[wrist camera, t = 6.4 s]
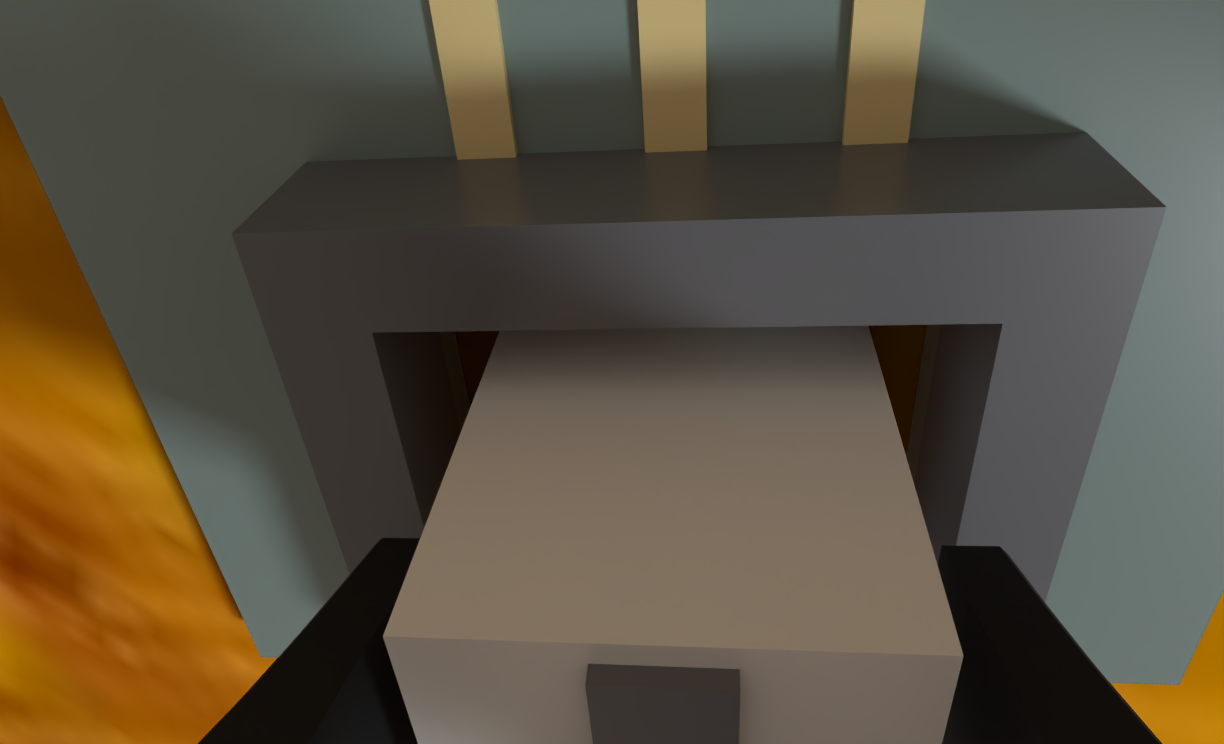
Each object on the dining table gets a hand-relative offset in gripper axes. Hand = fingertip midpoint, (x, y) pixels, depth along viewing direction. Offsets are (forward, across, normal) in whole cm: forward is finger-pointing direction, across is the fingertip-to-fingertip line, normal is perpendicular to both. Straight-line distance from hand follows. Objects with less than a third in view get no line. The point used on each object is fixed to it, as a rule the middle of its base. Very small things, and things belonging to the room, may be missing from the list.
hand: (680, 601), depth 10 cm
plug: (+3, 0, 0) cm, 4 cm away
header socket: (+3, 0, -2) cm, 4 cm away
